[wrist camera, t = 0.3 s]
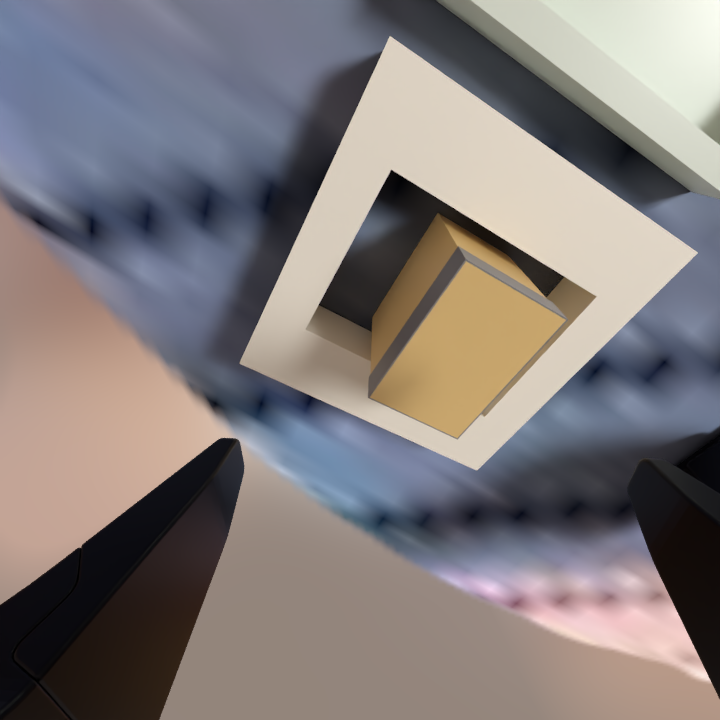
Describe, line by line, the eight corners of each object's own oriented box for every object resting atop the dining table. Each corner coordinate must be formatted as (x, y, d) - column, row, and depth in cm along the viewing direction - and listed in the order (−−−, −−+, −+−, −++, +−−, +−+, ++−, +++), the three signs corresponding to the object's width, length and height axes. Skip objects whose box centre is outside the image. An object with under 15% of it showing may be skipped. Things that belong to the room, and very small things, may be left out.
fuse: (509, 254, 19) (568, 319, 13) (436, 351, 22) (457, 439, 16) (437, 210, 18) (466, 259, 12) (371, 317, 21) (367, 397, 15)
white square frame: (653, 233, 18) (697, 252, 16) (466, 434, 25) (477, 470, 22) (388, 48, 15) (389, 35, 13) (255, 334, 22) (239, 363, 19)
